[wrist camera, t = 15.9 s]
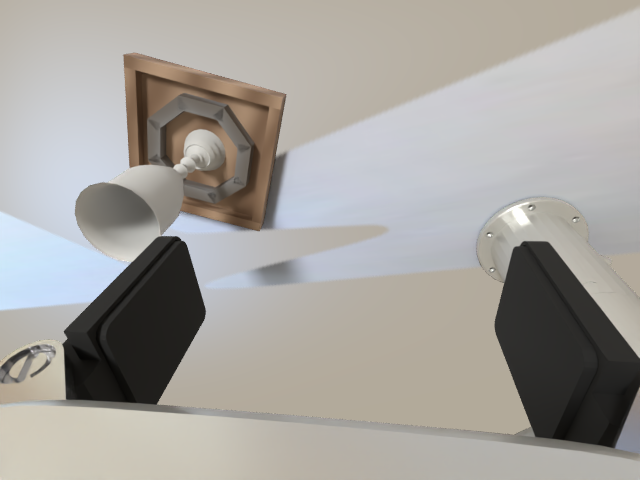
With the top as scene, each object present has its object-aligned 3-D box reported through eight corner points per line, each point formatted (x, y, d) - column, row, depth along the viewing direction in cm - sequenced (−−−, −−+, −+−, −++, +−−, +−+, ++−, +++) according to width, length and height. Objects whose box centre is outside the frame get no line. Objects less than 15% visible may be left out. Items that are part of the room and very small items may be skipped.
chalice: (217, 188, 46) (144, 275, 31) (168, 158, 45) (66, 234, 30) (243, 141, 43) (173, 214, 28) (190, 107, 41) (86, 164, 26)
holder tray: (286, 94, 40) (281, 98, 38) (263, 223, 49) (258, 232, 47) (134, 52, 40) (121, 54, 38) (140, 190, 49) (129, 198, 47)
